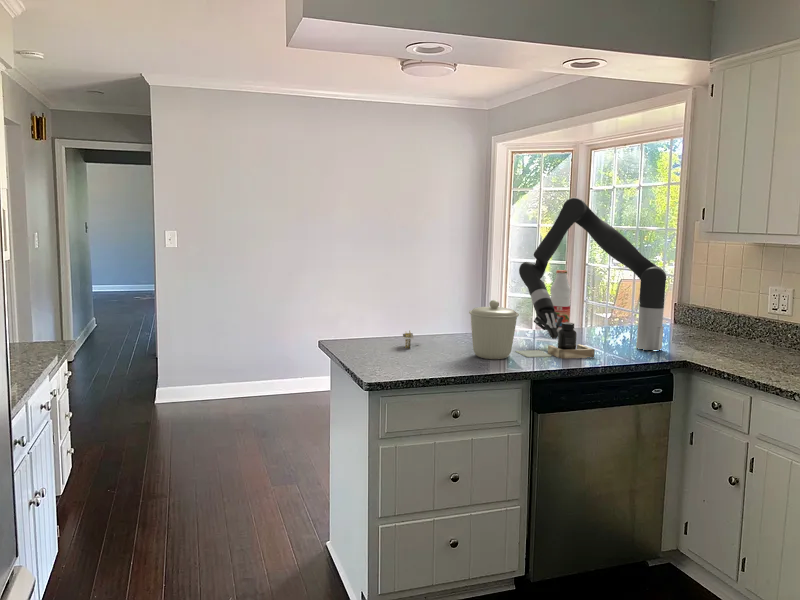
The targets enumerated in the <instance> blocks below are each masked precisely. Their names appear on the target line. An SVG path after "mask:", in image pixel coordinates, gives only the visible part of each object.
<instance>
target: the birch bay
mask: <svg viewBox="0 0 800 600" xmlns="http://www.w3.org/2000/svg"><path fill="white" fill-rule="evenodd" d="M595 352H596V349H594V348H591V347H588V346H586V345H583V344H576V349H571V350H562V349H560V348H558V346H555V345H550V344H548V345H547V354H549V355H552V356H554V357H556V358H558V359H560V358H561V360H562V359H588V358H587V357H594V358H595V354H596V353H595Z"/></svg>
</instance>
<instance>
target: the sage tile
mask: <svg viewBox="0 0 800 600" xmlns="http://www.w3.org/2000/svg"><path fill="white" fill-rule="evenodd" d="M515 353H517V354H520V355H521V356H523V357H526V358H550V357H552V356H553V355H551V354H549V353H548V352H545V351H542V350H539V349H537V350H536V349H535V350H534V349H533V350H515Z"/></svg>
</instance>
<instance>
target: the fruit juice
mask: <svg viewBox="0 0 800 600" xmlns="http://www.w3.org/2000/svg"><path fill="white" fill-rule="evenodd" d="M555 273H556V276H555V279H554V281H553V283H552V285H551V286H550V298H551V301H552V303H553V306H554V310H555V313H556V314H557V316H559V317H563V320H562V322H561V324H562V323H564V322H567V323H570V316H571V298H570V296H571V293H572V288H571V286H570V282H569V280H568V270H562V269H556V271H555ZM556 320H557V319H556ZM556 320H555V322H556V323H555V324H557V321H556ZM561 329H562V328H561V325H560V327H559V328H558V329H557V333H558V332H559V331H560V330H561Z"/></svg>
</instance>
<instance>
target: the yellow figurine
mask: <svg viewBox="0 0 800 600" xmlns="http://www.w3.org/2000/svg"><path fill="white" fill-rule="evenodd" d="M402 338H403V339H405V342H404V343H405V346H404V347H405V349H410V347H411V344H412V343H411V340H414V334H413V332H412V333H411V330H409V332H405V333H402Z"/></svg>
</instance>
